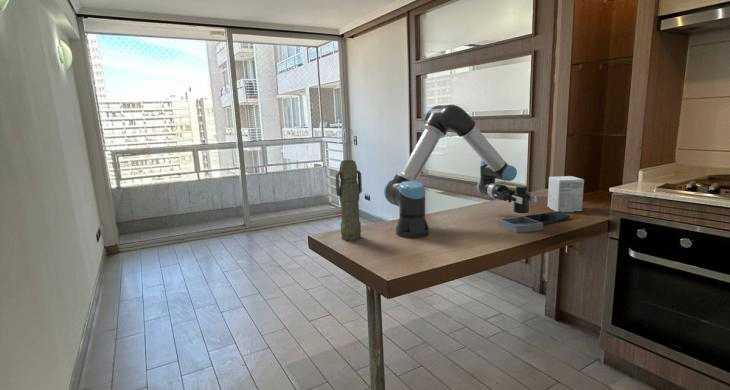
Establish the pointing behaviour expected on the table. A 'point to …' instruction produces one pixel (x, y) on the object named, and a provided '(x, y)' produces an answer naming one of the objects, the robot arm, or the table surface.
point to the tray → (520, 224)
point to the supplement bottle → (524, 207)
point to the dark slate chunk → (549, 217)
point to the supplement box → (565, 193)
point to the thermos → (349, 199)
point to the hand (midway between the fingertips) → (528, 200)
